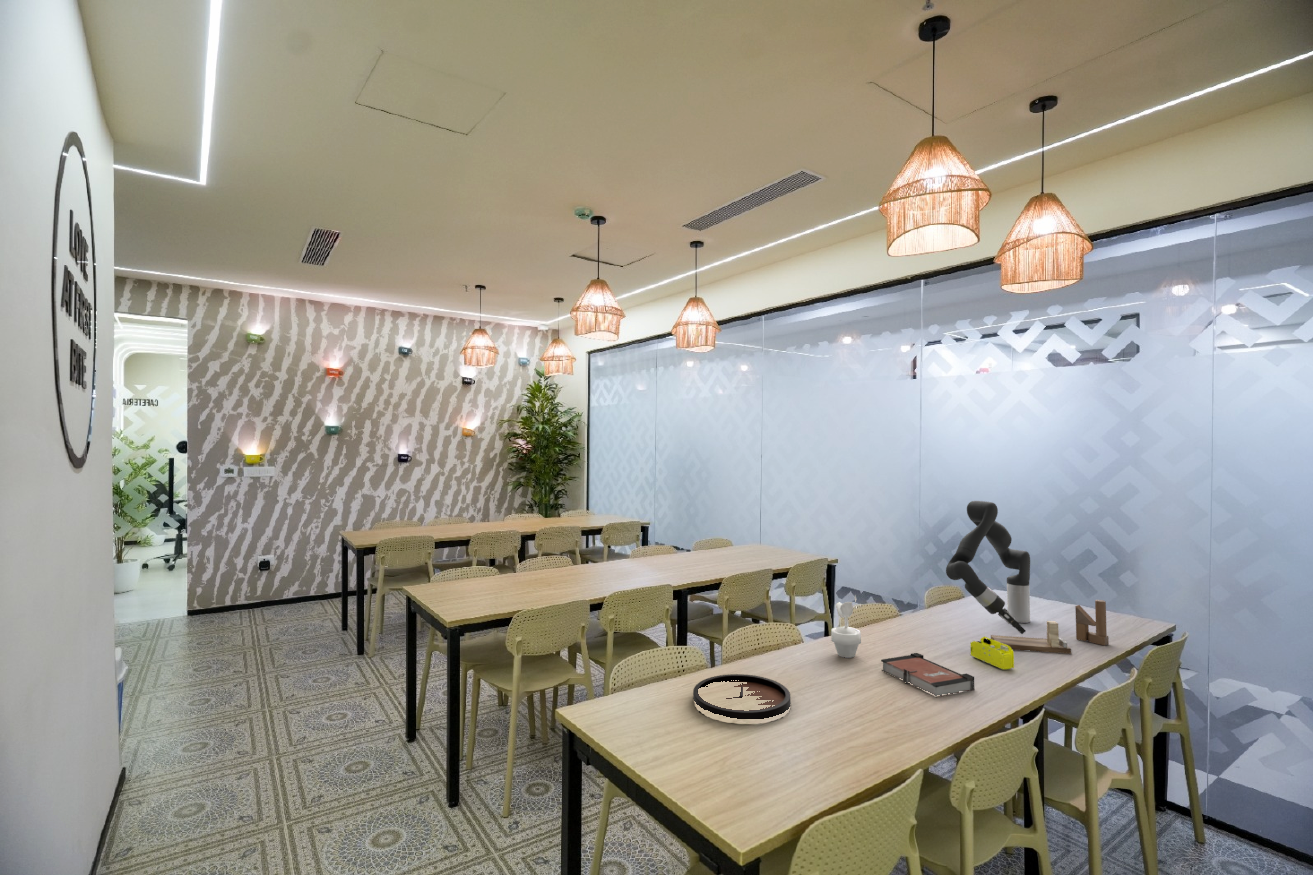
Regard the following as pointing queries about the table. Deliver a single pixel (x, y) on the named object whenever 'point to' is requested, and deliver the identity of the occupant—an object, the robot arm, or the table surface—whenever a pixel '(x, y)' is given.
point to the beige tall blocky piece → (1052, 633)
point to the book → (927, 674)
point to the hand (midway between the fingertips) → (1020, 629)
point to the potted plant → (846, 632)
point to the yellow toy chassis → (993, 653)
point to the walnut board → (1032, 644)
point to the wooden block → (1092, 624)
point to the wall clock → (755, 683)
